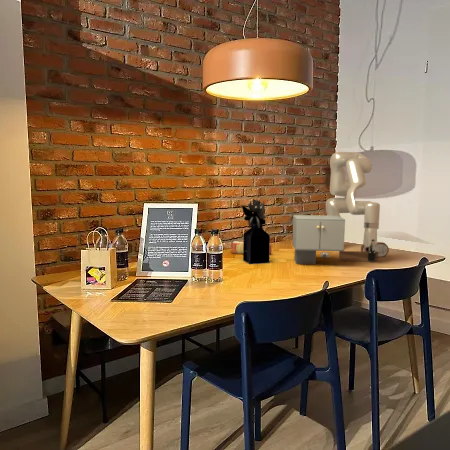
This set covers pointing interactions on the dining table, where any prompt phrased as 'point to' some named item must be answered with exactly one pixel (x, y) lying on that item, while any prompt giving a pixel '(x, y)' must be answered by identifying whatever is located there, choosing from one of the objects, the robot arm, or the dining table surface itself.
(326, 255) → the puck
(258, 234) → the vase
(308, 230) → the cabinet
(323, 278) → the dining table surface
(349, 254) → the brown rectangular bar
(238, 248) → the snack package
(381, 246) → the tin
